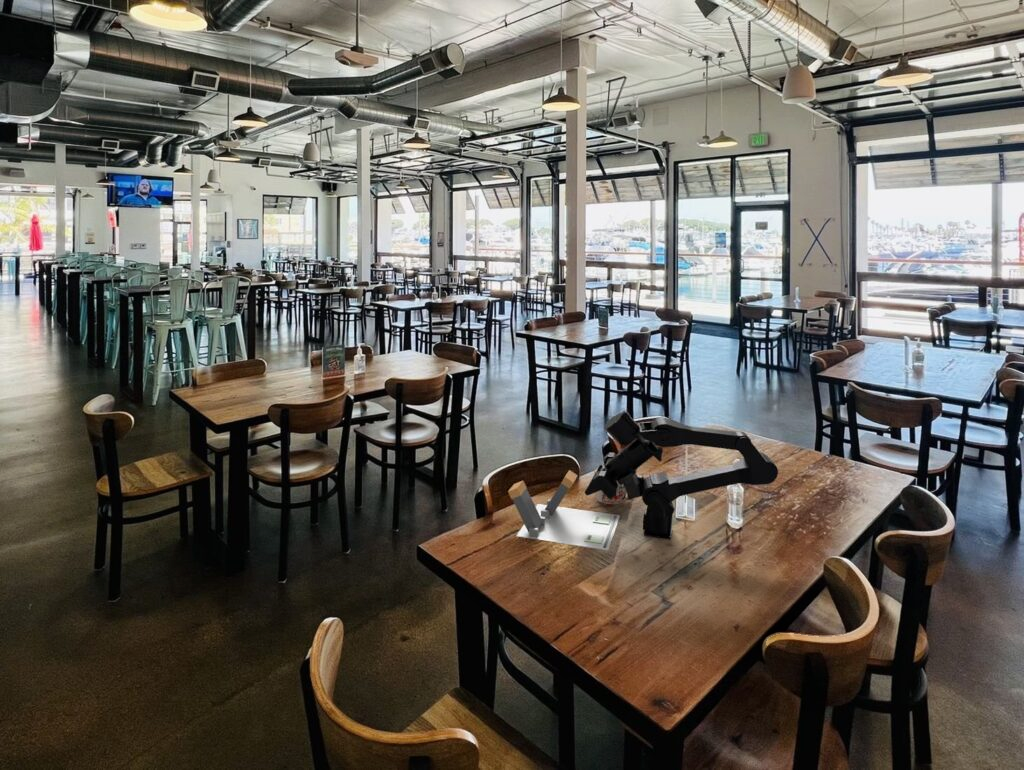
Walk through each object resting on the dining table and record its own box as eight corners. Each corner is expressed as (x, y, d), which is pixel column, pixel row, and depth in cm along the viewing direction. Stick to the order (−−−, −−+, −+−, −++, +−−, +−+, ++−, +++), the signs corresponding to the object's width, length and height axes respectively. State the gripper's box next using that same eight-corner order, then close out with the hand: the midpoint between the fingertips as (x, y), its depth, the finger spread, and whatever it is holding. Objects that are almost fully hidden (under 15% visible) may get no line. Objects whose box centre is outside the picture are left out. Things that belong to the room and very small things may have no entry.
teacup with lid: (600, 510, 172) (602, 469, 169) (588, 497, 181) (590, 458, 178) (641, 507, 175) (644, 466, 172) (627, 494, 184) (629, 455, 181)
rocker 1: (542, 520, 158) (523, 480, 158) (537, 529, 154) (517, 488, 153) (533, 524, 159) (514, 483, 159) (528, 532, 154) (507, 491, 154)
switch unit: (619, 520, 166) (620, 508, 165) (607, 556, 148) (608, 542, 147) (537, 509, 172) (537, 496, 172) (516, 541, 154) (516, 528, 153)
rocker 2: (556, 508, 169) (577, 475, 165) (551, 516, 164) (573, 482, 160) (548, 502, 169) (569, 469, 165) (543, 510, 164) (564, 476, 160)
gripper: (651, 496, 148) (601, 533, 154) (657, 469, 165) (612, 503, 171) (618, 460, 148) (570, 498, 154) (628, 436, 166) (584, 472, 171)
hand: (585, 493), depth 163 cm, fingers closed
